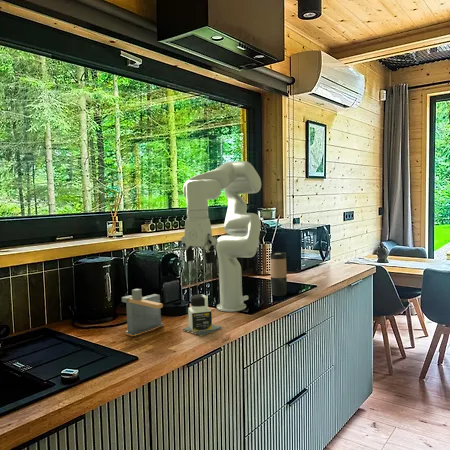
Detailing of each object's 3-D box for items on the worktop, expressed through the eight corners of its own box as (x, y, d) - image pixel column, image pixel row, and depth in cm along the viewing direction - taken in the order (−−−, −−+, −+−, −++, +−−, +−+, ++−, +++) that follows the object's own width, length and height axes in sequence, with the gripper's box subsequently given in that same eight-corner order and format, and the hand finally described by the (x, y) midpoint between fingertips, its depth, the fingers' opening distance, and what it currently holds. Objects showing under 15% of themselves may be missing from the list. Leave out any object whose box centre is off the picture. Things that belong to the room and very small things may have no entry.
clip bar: (130, 299, 153) (129, 286, 152) (164, 307, 140) (163, 293, 140) (121, 301, 150) (121, 288, 150) (156, 309, 138) (155, 295, 137)
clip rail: (155, 324, 163) (154, 293, 162) (163, 326, 160) (162, 294, 159) (125, 334, 152) (123, 301, 151) (133, 337, 149) (131, 303, 148)
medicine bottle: (192, 332, 150) (191, 298, 149) (188, 326, 157) (187, 294, 156) (212, 329, 152) (211, 296, 151) (207, 324, 159) (206, 292, 158)
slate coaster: (201, 323, 162) (201, 321, 162) (221, 328, 155) (221, 326, 155) (182, 330, 155) (182, 328, 154) (202, 336, 148) (202, 333, 148)
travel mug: (286, 292, 208) (285, 251, 207) (287, 296, 201) (286, 254, 199) (270, 292, 209) (269, 252, 208) (271, 296, 202) (270, 254, 200)
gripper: (173, 215, 155) (175, 261, 156) (208, 215, 144) (210, 265, 145) (188, 213, 161) (190, 258, 162) (222, 214, 149) (224, 262, 151)
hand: (199, 262), depth 154 cm, fingers open, 9 cm apart
